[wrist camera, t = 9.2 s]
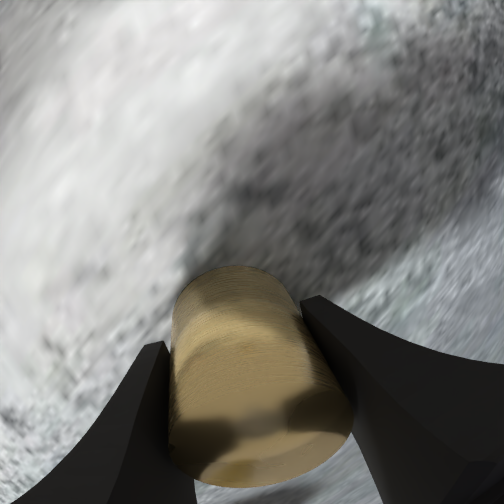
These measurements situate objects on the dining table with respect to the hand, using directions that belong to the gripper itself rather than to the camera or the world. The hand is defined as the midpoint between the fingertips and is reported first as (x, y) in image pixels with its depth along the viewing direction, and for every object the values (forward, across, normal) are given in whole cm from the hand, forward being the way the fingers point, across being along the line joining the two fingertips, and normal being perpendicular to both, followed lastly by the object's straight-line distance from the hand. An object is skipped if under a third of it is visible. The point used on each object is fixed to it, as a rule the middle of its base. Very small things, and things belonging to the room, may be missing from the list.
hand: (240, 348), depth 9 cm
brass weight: (+1, 0, 0) cm, 1 cm away
